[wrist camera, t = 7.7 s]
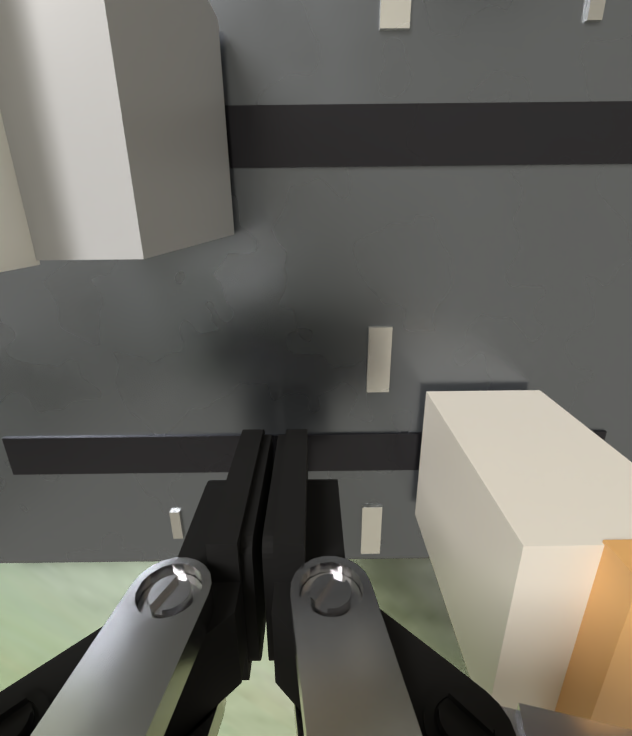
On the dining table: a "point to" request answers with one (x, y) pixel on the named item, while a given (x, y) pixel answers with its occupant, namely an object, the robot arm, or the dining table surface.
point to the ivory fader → (531, 549)
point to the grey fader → (110, 130)
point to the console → (340, 274)
